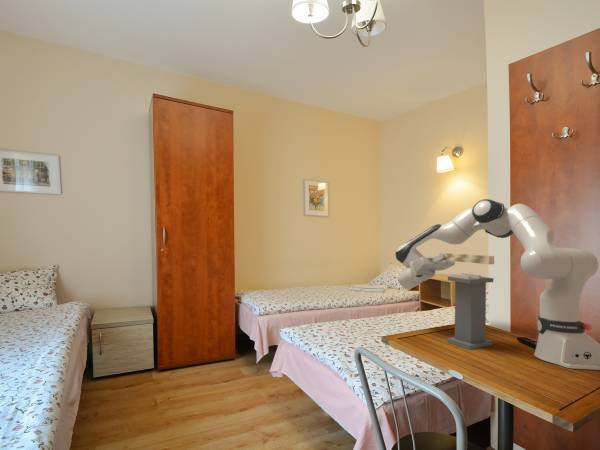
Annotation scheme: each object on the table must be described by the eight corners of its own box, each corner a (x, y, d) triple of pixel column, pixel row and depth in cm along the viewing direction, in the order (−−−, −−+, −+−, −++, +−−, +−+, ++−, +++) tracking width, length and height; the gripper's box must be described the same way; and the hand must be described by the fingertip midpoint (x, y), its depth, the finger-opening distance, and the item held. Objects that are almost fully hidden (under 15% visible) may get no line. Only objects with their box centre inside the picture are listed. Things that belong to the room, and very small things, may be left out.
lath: (439, 259, 150) (439, 252, 150) (444, 259, 152) (444, 252, 152) (489, 264, 130) (489, 256, 130) (494, 264, 132) (494, 256, 132)
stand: (447, 342, 139) (447, 273, 140) (469, 338, 146) (470, 272, 146) (469, 349, 130) (470, 276, 131) (493, 344, 137) (493, 275, 138)
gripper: (443, 274, 162) (466, 262, 152) (411, 276, 153) (433, 262, 142) (438, 262, 165) (460, 249, 155) (406, 263, 156) (427, 249, 145)
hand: (447, 255), depth 148 cm, fingers closed on lath, 3 cm apart
